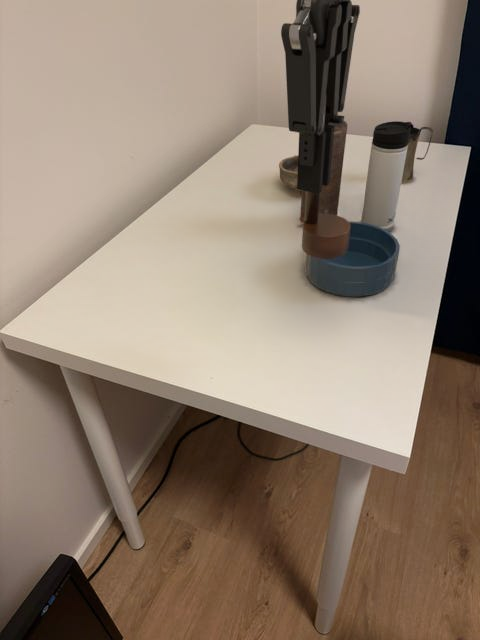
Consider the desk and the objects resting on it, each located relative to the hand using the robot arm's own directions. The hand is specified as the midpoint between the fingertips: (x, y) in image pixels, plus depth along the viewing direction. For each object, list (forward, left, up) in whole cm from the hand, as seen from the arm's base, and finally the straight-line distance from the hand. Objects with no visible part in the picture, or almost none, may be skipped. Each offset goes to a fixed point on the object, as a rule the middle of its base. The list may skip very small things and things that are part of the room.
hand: (313, 186), depth 55 cm
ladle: (-2, 0, -7) cm, 8 cm away
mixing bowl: (+1, -20, -24) cm, 32 cm away
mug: (+4, -63, -25) cm, 68 cm away
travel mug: (+2, -38, -25) cm, 46 cm away
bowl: (+22, -50, -25) cm, 60 cm away
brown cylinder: (+13, -34, -25) cm, 44 cm away
